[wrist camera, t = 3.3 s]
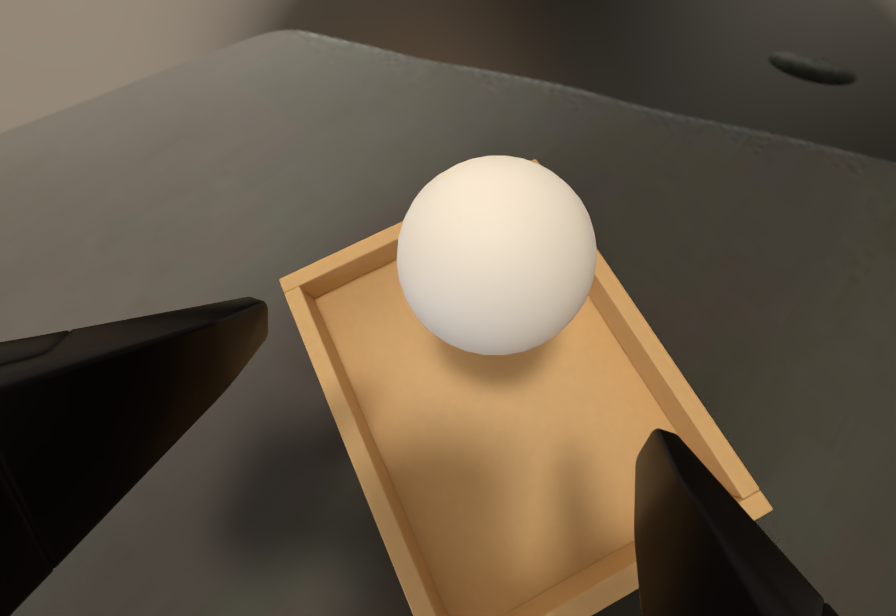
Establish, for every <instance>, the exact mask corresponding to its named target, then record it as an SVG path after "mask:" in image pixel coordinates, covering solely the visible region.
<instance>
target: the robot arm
mask: <svg viewBox="0 0 896 616" xmlns="http://www.w3.org/2000/svg"><path fill="white" fill-rule="evenodd" d="M267 335H268V308H267V304H266V303H265V302H264V301H261V300H258V299H255V298H252V297H245V298H239V299H234V300H229V301H223V302H218V303H213V304H207V305H202V306H196V307H191V308H186V309H180V310H175V311H170V312H164V313H159V314H153V315H148V316H143V317H137V318H132V319H127V320H121V321H116V322H111V323H105V324H100V325H94V326H89V327H84V328H78V329H73V330H71V331H70V332H69V331H62V332H56V333H51V334H46V335H40V336H34V337H29V338H23V339H17V340H11V341H5V342H0V616H10V615H11V614H12V613H13V612H14V611H15V610H16V609H17V608H18V607H19V606H20V605H21V604H22V603H23V602H24V601H25V599H26V598H27V597H28V596H29V595H30V594H31V593H32V592H33V591H34V590H35V589H36V588H37V587H38V586H39V585H40V584H41V583H42V582H43V581H44V580H45V579H46V578H47V577H48V576H49V574H50V573H51V572H52V571H53V568H56V567H57V566H58V565H59V564H60V563H61V562H62V561H63V560H64V558H65V557H66V556H67V555H68V554H69V553H70V552H71V551H72V550H73V549H74V548H75V547H76V546H77V545H78V544H79V543H80V542H81V541H82V540H83V539H84V538H85V537H86V536H87V535H88V533H89V532H90V531H91V530H92V529H93V528H94V527H95V526H96V525H97V524H98V523H99V522H100V521H101V520H102V519H103V518H104V517H105V516H106V515H107V514H108V513H109V512H110V511H111V509H112V508H113V507H114V506H115V505H116V504H117V503H118V502H119V501H120V500H121V499H122V498H123V497H124V496H125V495H126V494H127V493H128V492H129V491H130V490H131V489H132V488H133V487H134V486H135V484H136V483H137V482H138V481H139V480H140V479H141V478H142V477H143V476H144V475H145V474H146V473H147V472H148V471H149V470H150V469H151V468H152V467H153V466H154V465H155V464H156V463H157V462H158V461H159V459H160V458H161V457H162V456H163V455H164V454H165V453H166V452H167V451H168V450H169V449H170V448H171V447H172V446H173V445H174V444H175V443H176V442H177V441H178V440H179V439H180V438H181V437H182V436H183V434H184V433H185V432H186V431H187V430H188V429H189V428H190V427H191V426H192V425H193V424H194V423H195V422H196V421H197V420H198V419H199V418H200V417H201V416H202V415H203V414H204V413H205V412H206V411H207V409H208V408H209V407H210V406H211V405H212V404H213V403H214V402H215V401H216V400H217V399H218V398H219V397H220V396H221V395H222V394H223V393H224V392H225V390H226V389H227V388H228V387H229V386H230V385H231V383H232V382H233V381H234V380H235V378H236V377H237V376H238V375H239V373H240V372H241V371H242V369H243V368H244V367H245V366H246V364H247V363H248V362H249V360H250V359H251V358H252V357H253V355H254V354H255V353H256V351H257V350H258V349H259V348H260V346H261V345H262V344H263V342H264V341H265V339H266V338H267ZM634 542H635V554H636V564H637V575H638V586H639V596H640V607H641V616H839V615H838V614H837V613H836V612H835V611H834V610H833V609H832V607H831V606H830V605H829V604H827V603H824V599H823V598H822V596H821V595H820V594H819V593H818V592H817V591H816V590H815V589H814V587H813V586H812V585H811V584H810V583H809V582H808V581H807V580H806V578H805V577H804V576H803V575H802V574H801V573H800V572H799V571H798V569H797V568H796V567H795V566H794V565H793V564H792V563H791V562H790V560H789V559H788V558H787V557H786V556H785V555H784V554H783V553H782V551H781V550H780V549H779V548H778V547H777V546H776V545H775V544H774V543H773V541H772V540H771V539H770V538H769V537H768V536H767V535H766V534H765V532H764V531H763V530H762V529H761V528H760V527H759V526H758V525H757V523H756V522H755V521H754V520H753V519H752V518H751V517H750V516H749V514H748V513H747V512H746V511H745V510H744V509H743V508H742V507H741V505H740V504H739V503H738V502H737V501H736V500H735V499H734V498H733V496H732V495H731V494H730V493H729V492H728V491H727V490H726V489H725V488H724V486H723V485H722V484H721V483H720V482H719V481H718V480H717V479H716V477H715V476H714V475H713V474H712V473H711V472H710V471H709V470H708V468H707V467H706V466H705V465H704V464H703V463H702V462H701V461H700V459H699V458H698V457H697V456H696V455H695V454H694V453H693V452H692V450H691V449H690V448H689V447H688V446H687V445H686V444H685V443H684V441H683V440H682V439H681V438H680V437H679V436H678V435H677V434H675V433H672V432H669V431H666V430H663V429H660V428H657V429H654V430H653V431H652V432H651V434H650V435H649V437H648V439H647V440H646V442H645V444H644V445H643V447H642V449H641V450H640V452H639V454H638V456H637V459H636V464H635V501H634Z"/></svg>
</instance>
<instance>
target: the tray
mask: <svg viewBox="0 0 896 616" xmlns="http://www.w3.org/2000/svg"><path fill="white" fill-rule="evenodd" d="M531 162H534V163H537V164H539V163H538V161H537V160H536V159H534V160H532V161H531ZM539 165H540V164H539ZM402 223H403V221H402V222H400V223H398V224H396V225H394V226H391V227H389V228H387V229H385V230H383V231H381V232H379V233H377V234H374V235H372V236H370V237H368V238H366V239H364V240H362V241H360V242H357V243H355V244H353V245H351V246H349V247H347V248H345V249H343V250H340V251H338V252H336V253H334V254H332V255H330V256H328V257H325V258H323V259H321V260H319V261H317V262H315V263H313V264H311V265H308V266H306V267H304V268H302V269H300V270H298V271H296V272H294V273H291V274H289V275H287V276H285V277H283V278H281V279H279V281H280V284H281V286H282V289H283V291H284V293H285V297H286V299H287V302H288V304H289V307H290V309H291V312H292V314H293V317H294V319H295V322H296V324H297V327H298V329H299V332H300V334H301V337H302V339H303V342H304V344H305V347H306V349H307V352H308V354H309V357H310V359H311V362H312V364H313V367H314V369H315V372H316V374H317V377H318V379H319V382H320V384H321V387H322V389H323V392H324V394H325V397H326V399H327V402H328V404H329V407H330V409H331V412H332V414H333V417H334V419H335V422H336V424H337V427H338V429H339V432H340V434H341V437H342V439H343V441H344V444H345V446H346V449H347V451H348V454H349V456H350V459H351V461H352V464H353V466H354V469H355V471H356V474H357V476H358V479H359V481H360V484H361V486H362V489H363V491H364V494H365V496H366V499H367V501H368V504H369V506H370V509H371V511H372V514H373V516H374V519H375V521H376V524H377V526H378V529H379V531H380V534H381V536H382V539H383V541H384V544H385V546H386V549H387V551H388V554H389V556H390V559H391V561H392V564H393V566H394V569H395V571H396V574H397V576H398V579H399V581H400V584H401V586H402V589H403V591H404V594H405V596H406V599H407V601H408V604H409V606H410V609H411V611H412V614H413V616H592V615H594V614H595V613H597V612H599V611H601V610H602V609H604V608H606V607H607V606H609V605H611V604H613V603H614V602H616V601H618V600H619V599H621V598H623V597H624V596H626V595H628V594H630V593H631V592H633V591H635V590H636V589H638V588H639V586H638V575H637V564H636V554H635V542H634V501H635V464H636V459H637V456H638V454H639V452H640V450H641V449H642V447H643V445H644V444H645V442H646V440H647V439H648V437H649V435H650V434H651V432H652V431H653V430H654V429H657V428H660V429H663V430H666V431H669V432H672V433H675V434H677V435H678V436H679V437H680V438H681V439H682V440H683V441H684V443H685V444H686V445H687V446H688V447H689V448H690V449H691V450H692V452H693V453H694V454H695V455H696V456H697V457H698V458H699V459H700V461H701V462H702V463H703V464H704V465H705V466H706V467H707V468H708V470H709V471H710V472H711V473H712V474H713V475H714V476H715V477H716V479H717V480H718V481H719V482H720V483H721V484H722V485H723V486H724V488H725V489H726V490H727V491H728V492H729V493H730V494H731V495H732V496H733V498H734V499H735V500H736V501H737V502H738V503H739V504H740V505H741V507H742V508H743V509H744V510H745V511H746V512H747V513H748V514H749V516H750V517H751V518H752V519H753V520H754V521H755V520H756V519H758V518H760V517H761V516H763V515H765V514H766V513H768V512H770V511H772V510H773V509H772V507H771V505H770V504H769V502H768V501H767V499H766V498H765V496H764V495H763V493H762V492H761V491H760V490H759V487H758V486H757V484H756V483H755V481H754V480H753V478H752V477H751V475H750V474H749V472H748V471H747V469H746V468H745V466H744V465H743V463H742V462H741V460H740V459H739V458H738V456H737V455H736V453H735V452H734V450H733V449H732V447H731V446H730V444H729V443H728V441H727V440H726V438H725V437H724V435H723V434H722V432H721V431H720V430H719V428H718V427H717V425H716V424H715V422H714V421H713V419H712V418H711V416H710V415H709V413H708V412H707V410H706V409H705V407H704V406H703V404H702V403H701V401H700V400H699V399H698V397H697V396H696V394H695V393H694V391H693V390H692V388H691V387H690V385H689V384H688V382H687V381H686V379H685V378H684V376H683V375H682V373H681V372H680V371H679V369H678V368H677V366H676V365H675V363H674V362H673V360H672V359H671V357H670V356H669V354H668V353H667V351H666V350H665V348H664V347H663V345H662V344H661V343H660V341H659V340H658V338H657V337H656V335H655V334H654V332H653V331H652V329H651V328H650V326H649V325H648V323H647V322H646V320H645V319H644V317H643V316H642V314H641V313H640V312H639V310H638V309H637V307H636V306H635V304H634V303H633V301H632V300H631V298H630V297H629V295H628V294H627V292H626V291H625V289H624V288H623V286H622V285H621V284H620V282H619V281H618V279H617V278H616V276H615V275H614V273H613V272H612V270H611V269H610V267H609V266H608V264H607V263H606V261H605V260H604V258H603V257H602V256H601V254H600V253H599V251H598V250H597V248H596V253H597V259H596V266H595V273H594V279H593V283H592V286H591V288H590V291H589V294H588V296H587V299H586V301H585V303H584V304H583V306H582V307H581V309H580V310H579V312H578V313H577V315H576V316H575V317H574V319H573V320H572V321H571V322H570V323H569V324H568V325H567V326H566V327H565V328H564V329H563V330H562V331H561V332H560V333H559V334H558V335H556V336H555V337H553V338H551V339H550V340H548V341H547V342H545V343H544V344H542V345H540V346H537V347H535V348H532V349H530V350H527V351H524V352H520V353H514V354H509V355H482V354H477V353H472V352H468V351H464V350H461V349H459V348H457V347H454V346H452V345H450V344H448V343H446V342H444V341H443V340H441V339H440V338H438V337H437V336H435V335H434V334H433V333H431V332H430V331H429V330H428V329H427V328H426V327H425V326H424V325H423V324H422V323H421V322H420V321H419V320H418V319H417V317H416V315H415V314H414V312H413V311H412V309H411V307H410V306H409V304H408V302H407V300H406V298H405V296H404V293H403V290H402V287H401V285H400V282H399V277H398V270H397V249H398V237H399V234H400V230H401V227H402Z"/></svg>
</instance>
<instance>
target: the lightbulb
mask: <svg viewBox="0 0 896 616" xmlns="http://www.w3.org/2000/svg"><path fill="white" fill-rule="evenodd" d="M596 259H597V253H596V241H595V235H594V230H593V227H592V223H591V220H590V217H589V214H588V212H587V210H586V208H585V207H584V205H583V203H582V201H581V199H580V198H579V197H578V196H577V194H576V193H575V192H574V191H573V190H572V189H571V187H570V186H569V185H568V184H567V183H565V182H564V181H563V180H562V179H561V178H559V177H558V176H557V175H556V174H554V173H553V172H552V171H550V170H548V169H546V168H545V167H543V166H541V165H539V164H537V163H534V162H531V161H528V160H525V159H523V158H517V157H511V156H485V157H479V158H473V159H470V160H467V161H465V162H462V163H459V164H457V165H455V166H453V167H451V168H450V169H448V170H446V171H444V172H443V173H441V174H439V175H438V176H436V177H435V178H434V179H433V180H432V181H430V182H429V183H428V184H427V185H426V186H425V187H424V188H423V189H422V190H421V192H420V193H419V194H418V195H417V197H416V198H415V199H414V201H413V203H412V205H411V206H410V208H409V210H408V212H407V214H406V216H405V218H404V220H403V223H402V227H401V230H400V234H399V237H398V249H397V270H398V277H399V282H400V285H401V287H402V290H403V293H404V296H405V298H406V300H407V302H408V304H409V306H410V307H411V309H412V311H413V312H414V314H415V315H416V317H417V319H418V320H419V321H420V322H421V323H422V324H423V325H424V326H425V327H426V328H427V329H428V330H429V331H430V332H431V333H433V334H434V335H435V336H437V337H438V338H440V339H441V340H443V341H444V342H446V343H448V344H450V345H452V346H454V347H457V348H459V349H461V350H464V351H468V352H472V353H477V354H482V355H509V354H514V353H520V352H524V351H527V350H530V349H532V348H535V347H537V346H540V345H542V344H544V343H545V342H547V341H548V340H550V339H551V338H553V337H555V336H556V335H558V334H559V333H560V332H561V331H562V330H563V329H564V328H565V327H566V326H567V325H568V324H569V323H570V322H571V321H572V320H573V319H574V317H575V316H576V315H577V313H578V312H579V310H580V309H581V307H582V306H583V304H584V303H585V301H586V299H587V296H588V294H589V291H590V288H591V286H592V283H593V279H594V273H595V266H596Z"/></svg>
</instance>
